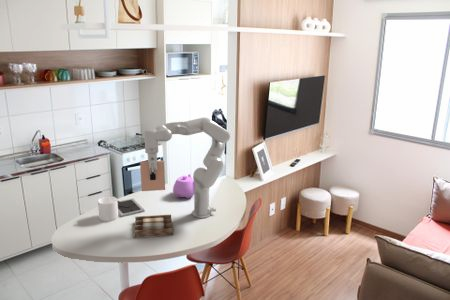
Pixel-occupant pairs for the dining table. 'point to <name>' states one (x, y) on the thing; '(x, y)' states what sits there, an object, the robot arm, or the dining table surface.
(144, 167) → the plywood sheet
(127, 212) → the picture frame
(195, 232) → the dining table surface
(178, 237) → the dining table surface
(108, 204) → the cup
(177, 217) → the dining table surface
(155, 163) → the robot arm
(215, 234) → the dining table surface
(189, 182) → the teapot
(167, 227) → the offcut rack
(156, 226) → the grey offcut
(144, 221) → the birch offcut
